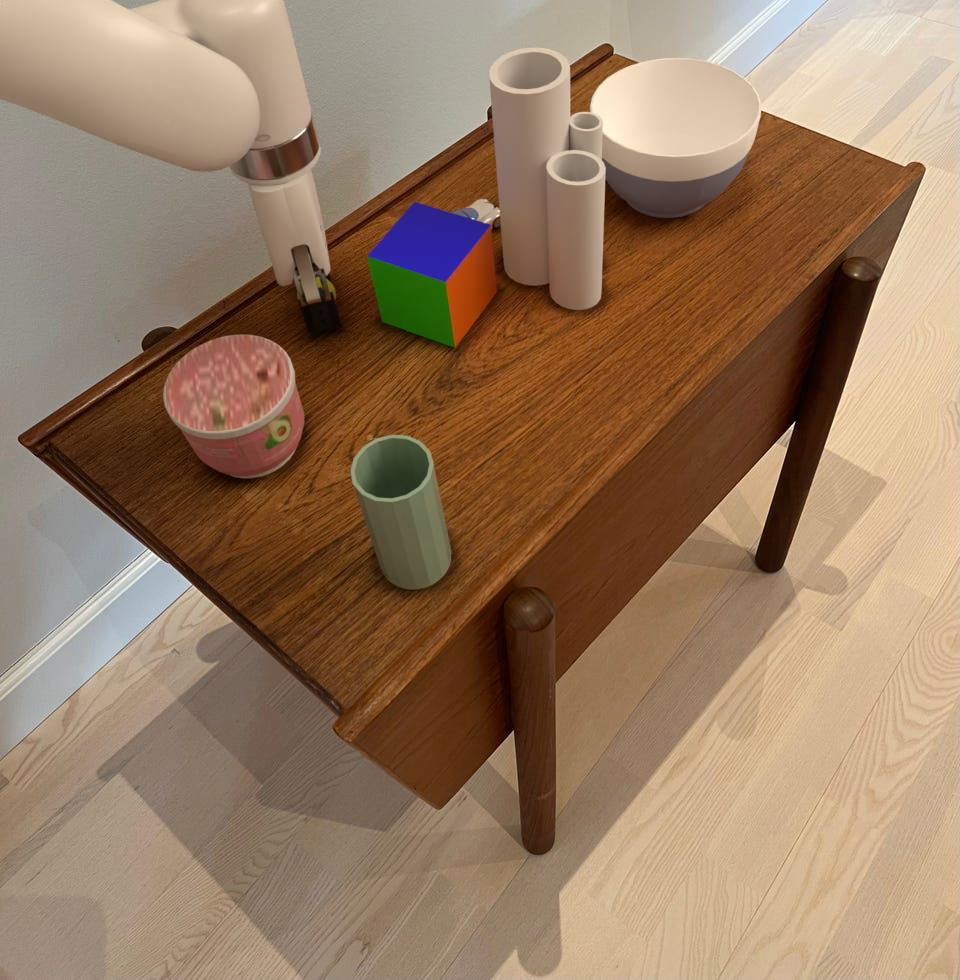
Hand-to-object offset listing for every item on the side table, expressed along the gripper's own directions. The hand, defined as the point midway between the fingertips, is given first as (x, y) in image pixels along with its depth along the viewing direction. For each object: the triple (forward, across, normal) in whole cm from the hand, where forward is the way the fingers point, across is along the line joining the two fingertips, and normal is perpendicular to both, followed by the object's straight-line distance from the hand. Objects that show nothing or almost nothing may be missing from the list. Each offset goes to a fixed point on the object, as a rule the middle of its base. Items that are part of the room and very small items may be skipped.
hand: (319, 305), depth 90 cm
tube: (0, +30, +3) cm, 30 cm away
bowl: (+1, -6, +37) cm, 37 cm away
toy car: (+1, -6, +17) cm, 18 cm away
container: (+1, +14, -8) cm, 17 cm away
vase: (+1, +2, +23) cm, 23 cm away
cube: (+1, +4, +11) cm, 12 cm away
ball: (-1, 0, 0) cm, 1 cm away
